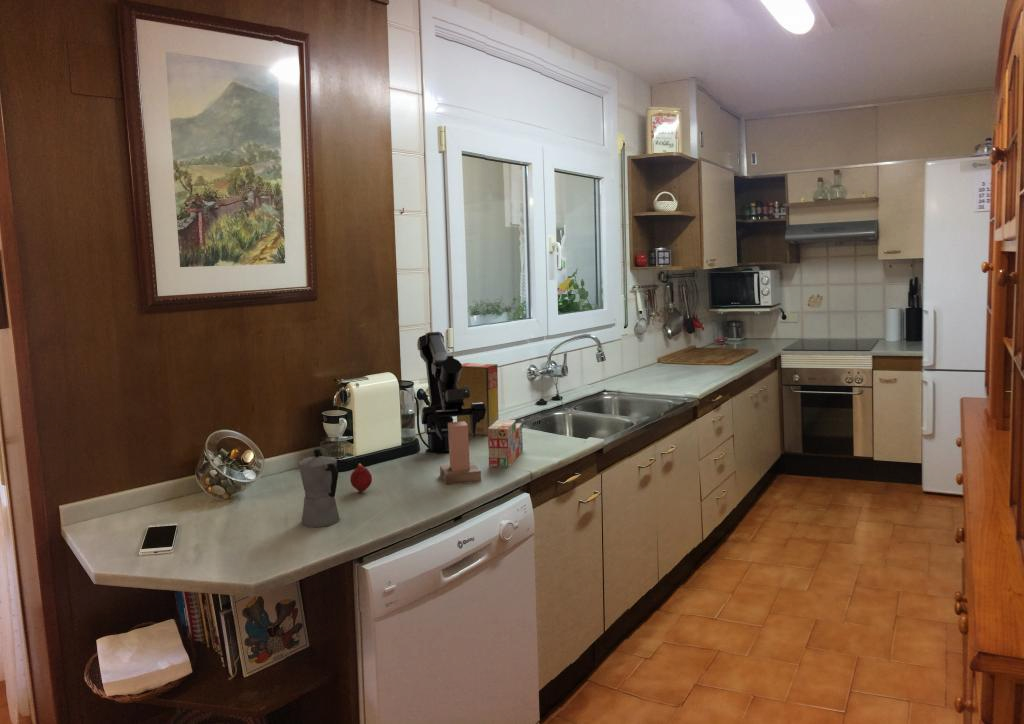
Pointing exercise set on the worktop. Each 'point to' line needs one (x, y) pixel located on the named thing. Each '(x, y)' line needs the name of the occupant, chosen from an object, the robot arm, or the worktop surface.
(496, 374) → the food packaging
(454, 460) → the terracotta block
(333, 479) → the coffeepot
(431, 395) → the robot arm
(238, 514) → the worktop surface
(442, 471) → the walnut block
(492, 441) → the stack of blocks
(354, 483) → the onion
